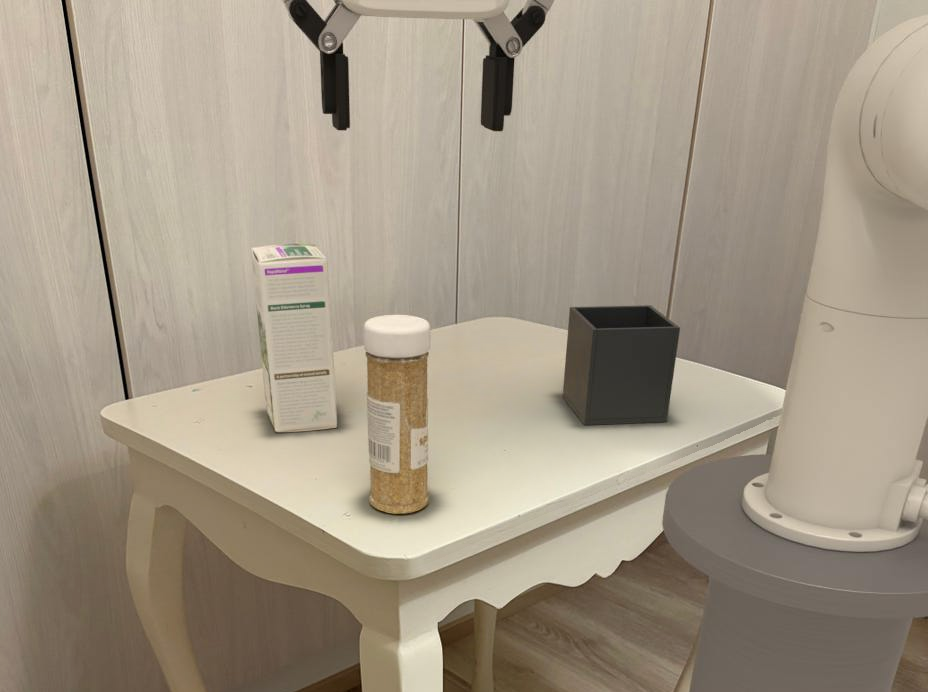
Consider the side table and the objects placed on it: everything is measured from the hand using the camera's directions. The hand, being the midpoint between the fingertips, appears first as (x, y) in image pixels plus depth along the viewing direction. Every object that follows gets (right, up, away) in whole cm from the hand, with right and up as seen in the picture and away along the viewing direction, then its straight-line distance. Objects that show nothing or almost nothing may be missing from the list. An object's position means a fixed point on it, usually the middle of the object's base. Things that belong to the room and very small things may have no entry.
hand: (417, 128), depth 62 cm
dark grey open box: (+17, -10, +31) cm, 37 cm away
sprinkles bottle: (-2, -22, +12) cm, 25 cm away
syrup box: (-11, -13, +27) cm, 32 cm away
